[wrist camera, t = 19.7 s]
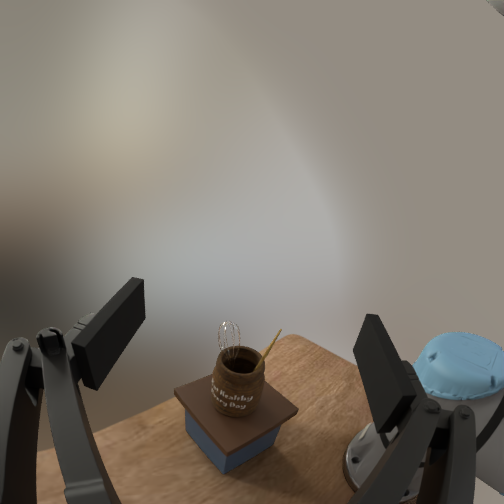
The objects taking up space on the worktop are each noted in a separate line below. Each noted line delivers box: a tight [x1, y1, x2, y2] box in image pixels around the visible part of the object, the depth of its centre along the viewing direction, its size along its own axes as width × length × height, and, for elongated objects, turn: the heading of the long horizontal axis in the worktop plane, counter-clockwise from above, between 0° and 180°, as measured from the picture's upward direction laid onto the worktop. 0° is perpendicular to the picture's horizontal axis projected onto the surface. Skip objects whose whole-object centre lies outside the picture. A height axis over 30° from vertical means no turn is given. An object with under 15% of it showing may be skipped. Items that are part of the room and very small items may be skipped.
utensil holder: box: [211, 322, 282, 417], centre depth 30 cm, size 6×6×12 cm
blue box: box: [174, 374, 299, 474], centre depth 33 cm, size 11×11×9 cm
